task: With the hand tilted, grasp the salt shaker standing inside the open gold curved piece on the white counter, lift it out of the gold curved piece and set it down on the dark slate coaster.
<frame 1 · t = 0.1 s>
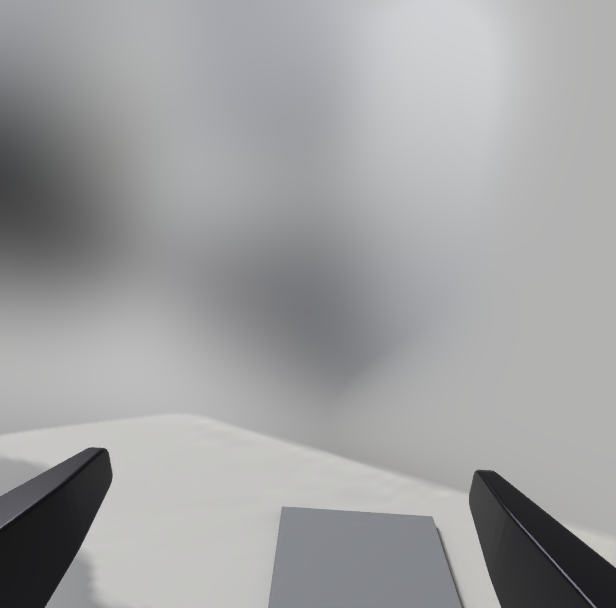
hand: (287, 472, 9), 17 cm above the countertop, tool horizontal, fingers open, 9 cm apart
coaster: (363, 600, 21), on the countertop
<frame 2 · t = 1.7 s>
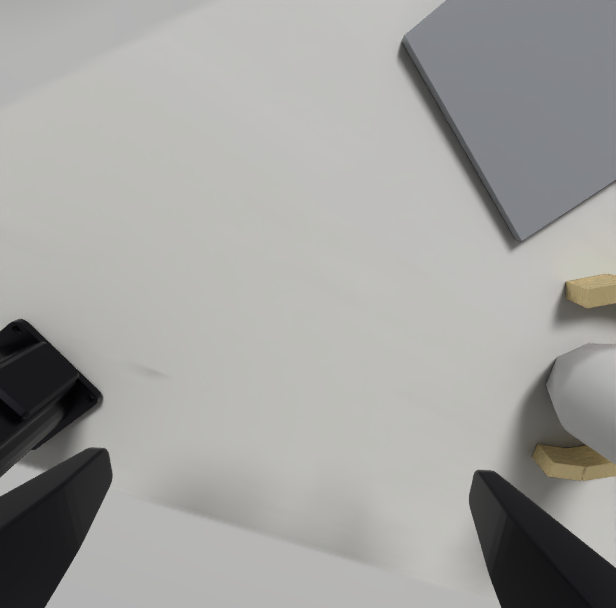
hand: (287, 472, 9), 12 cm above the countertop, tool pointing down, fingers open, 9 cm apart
salt shaker: (580, 374, 21), on the countertop
gold curved piece: (583, 376, 21), on the countertop
coaster: (570, 68, 16), on the countertop
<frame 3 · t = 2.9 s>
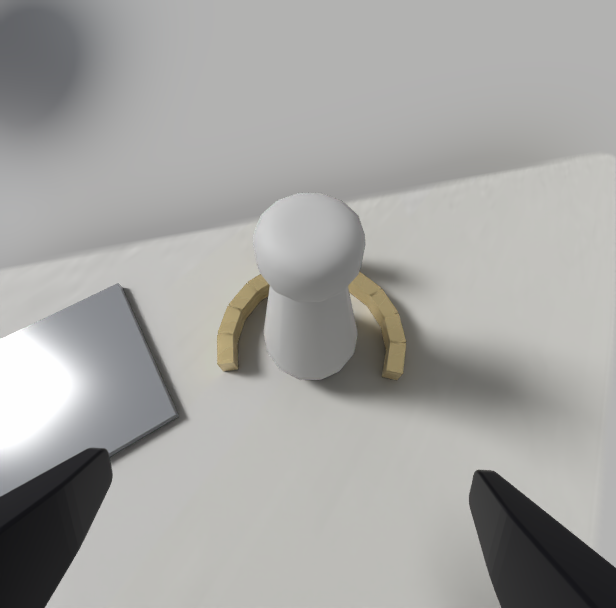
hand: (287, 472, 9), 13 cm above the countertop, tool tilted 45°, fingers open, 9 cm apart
salt shaker: (311, 347, 25), on the countertop
gold curved piece: (311, 346, 24), on the countertop
coaster: (68, 388, 23), on the countertop
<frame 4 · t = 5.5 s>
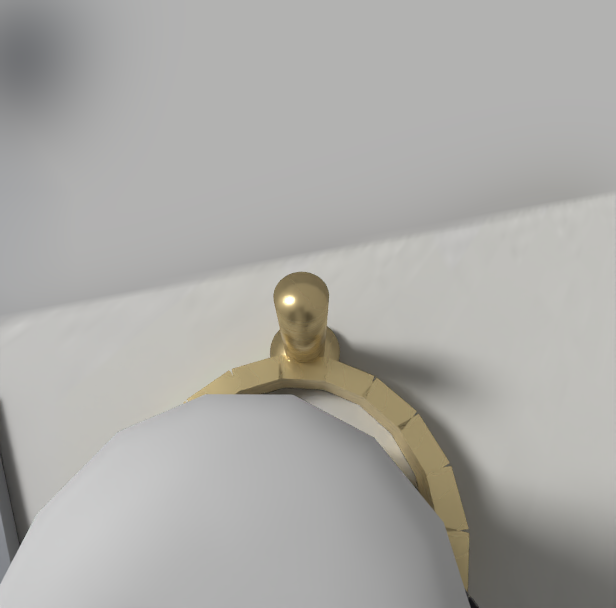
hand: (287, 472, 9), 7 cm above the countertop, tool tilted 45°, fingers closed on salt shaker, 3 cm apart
salt shaker: (295, 515, 14), on the countertop, touching gripper
gold curved piece: (295, 515, 14), on the countertop
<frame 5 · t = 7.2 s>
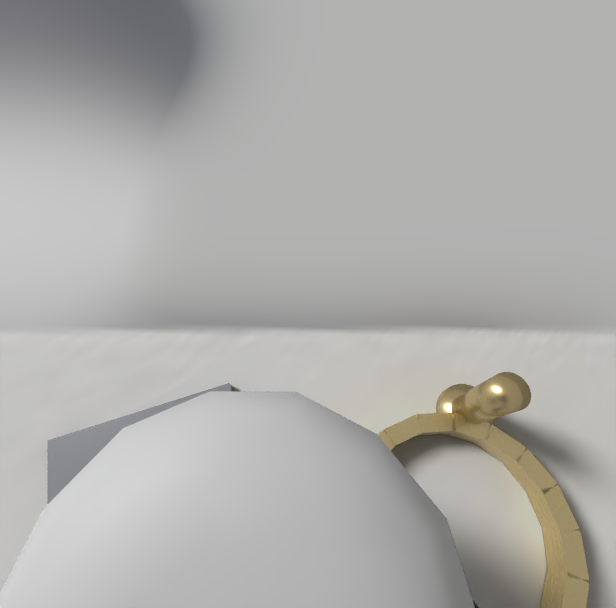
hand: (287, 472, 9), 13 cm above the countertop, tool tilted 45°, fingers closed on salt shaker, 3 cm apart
salt shaker: (297, 514, 14), point 6 cm above the countertop, touching gripper
gold curved piece: (448, 532, 19), on the countertop
coaster: (156, 508, 20), on the countertop
when the fingers open (8 cm above the countertop, at t = 9.1 s): salt shaker stays where it is, resting on coaster.
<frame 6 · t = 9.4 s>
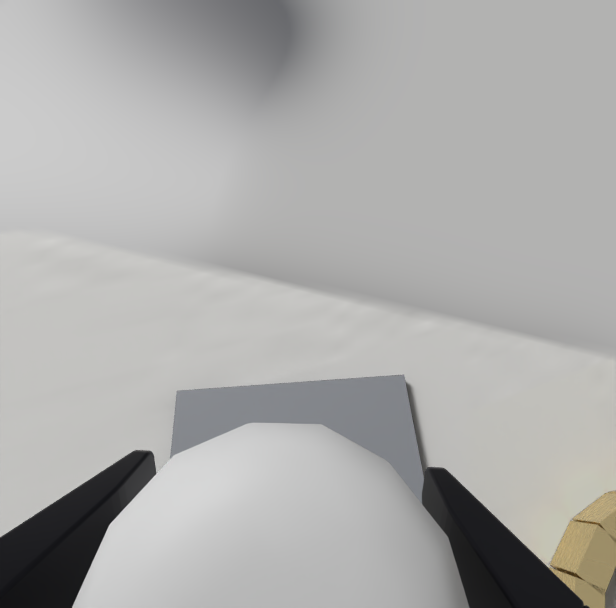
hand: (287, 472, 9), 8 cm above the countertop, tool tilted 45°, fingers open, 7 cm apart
salt shaker: (297, 520, 15), resting on coaster
coaster: (297, 513, 15), on the countertop
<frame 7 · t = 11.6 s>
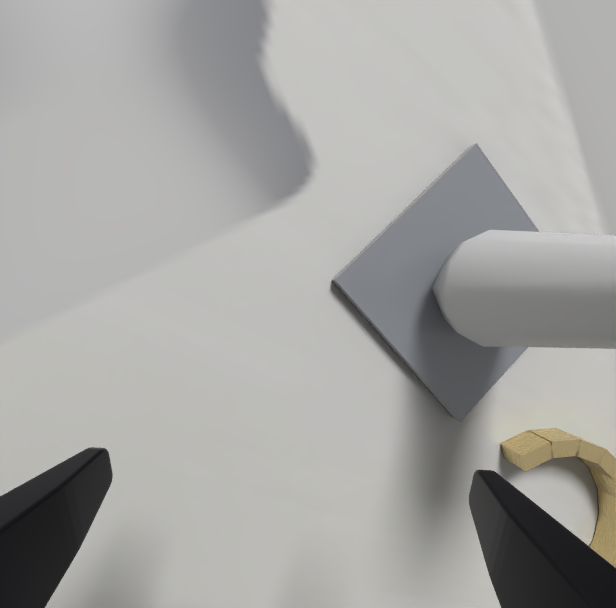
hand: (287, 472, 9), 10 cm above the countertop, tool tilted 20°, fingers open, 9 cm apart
salt shaker: (463, 288, 20), resting on coaster
gold curved piece: (535, 521, 23), on the countertop
coaster: (461, 285, 21), on the countertop
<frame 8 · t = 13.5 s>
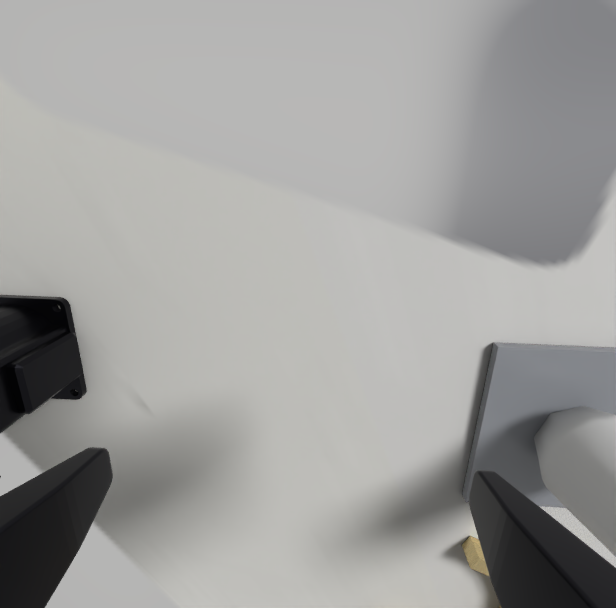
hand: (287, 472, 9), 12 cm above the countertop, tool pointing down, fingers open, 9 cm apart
salt shaker: (568, 433, 21), resting on coaster
gold curved piece: (434, 592, 27), on the countertop
coaster: (568, 429, 22), on the countertop
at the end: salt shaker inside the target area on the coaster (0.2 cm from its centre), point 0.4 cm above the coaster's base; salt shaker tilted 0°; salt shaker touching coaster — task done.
